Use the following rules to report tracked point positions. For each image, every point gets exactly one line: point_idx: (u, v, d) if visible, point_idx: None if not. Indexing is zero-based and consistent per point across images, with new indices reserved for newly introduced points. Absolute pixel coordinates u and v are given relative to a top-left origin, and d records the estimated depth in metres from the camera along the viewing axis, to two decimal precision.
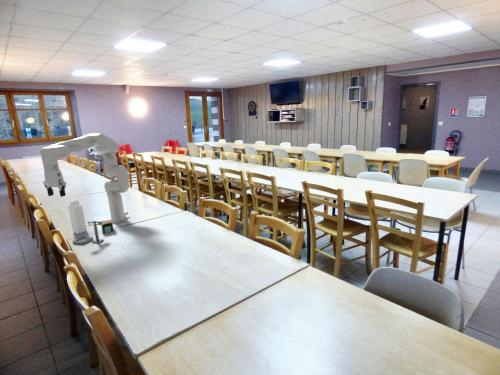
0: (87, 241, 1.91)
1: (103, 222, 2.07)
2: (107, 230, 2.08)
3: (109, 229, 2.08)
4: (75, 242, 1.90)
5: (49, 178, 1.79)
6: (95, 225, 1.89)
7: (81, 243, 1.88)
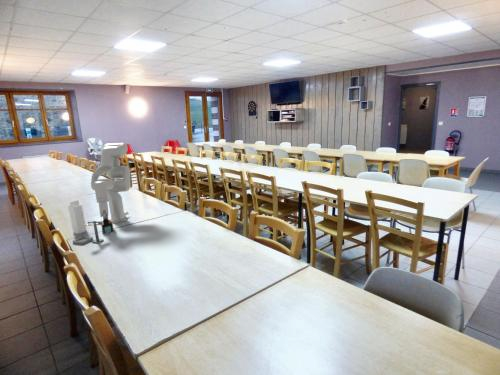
0: (87, 241, 1.91)
1: None
2: (107, 230, 2.08)
3: (109, 229, 2.08)
4: (75, 242, 1.90)
5: (107, 206, 2.06)
6: (95, 225, 1.89)
7: (81, 243, 1.88)
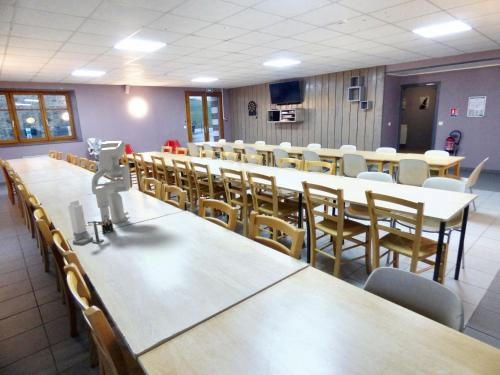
0: (87, 241, 1.91)
1: (103, 222, 2.07)
2: None
3: None
4: (75, 242, 1.90)
5: None
6: (95, 225, 1.89)
7: (81, 243, 1.88)
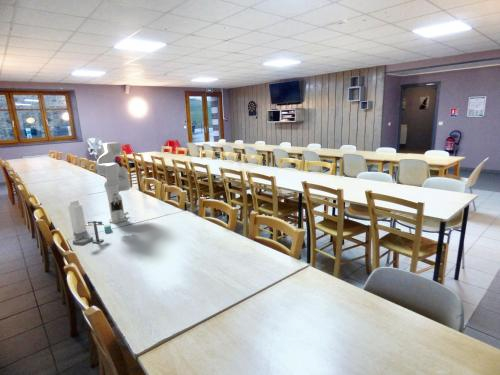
0: (87, 241, 1.91)
1: (112, 201, 2.02)
2: (107, 230, 2.08)
3: (109, 229, 2.08)
4: (75, 242, 1.90)
5: (118, 190, 2.03)
6: (95, 225, 1.89)
7: (81, 243, 1.88)
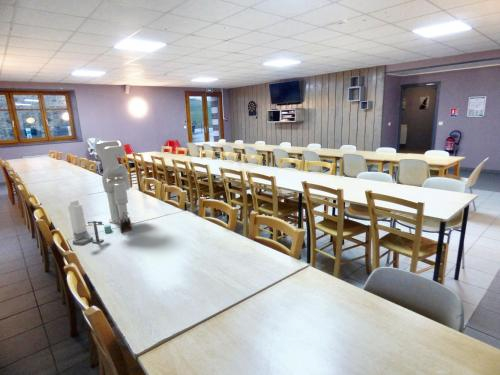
0: (87, 241, 1.91)
1: None
2: (107, 230, 2.08)
3: (109, 229, 2.08)
4: (75, 242, 1.90)
5: None
6: (95, 225, 1.89)
7: (81, 243, 1.88)
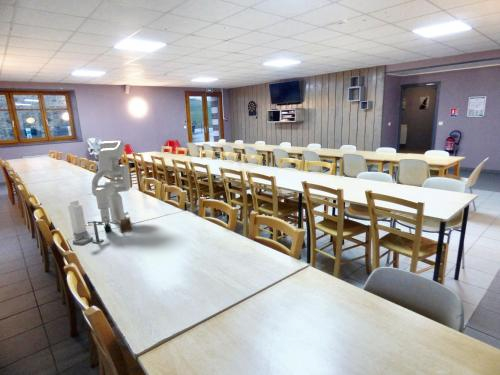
0: (87, 241, 1.91)
1: None
2: None
3: None
4: (75, 242, 1.90)
5: None
6: (95, 225, 1.89)
7: (81, 243, 1.88)
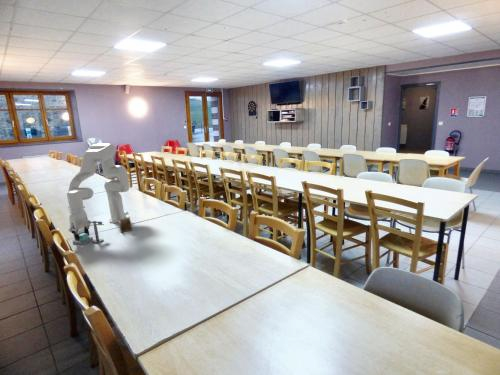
0: (87, 241, 1.91)
1: None
2: (80, 239, 1.91)
3: (82, 239, 1.90)
4: (75, 242, 1.90)
5: (81, 219, 1.88)
6: (95, 225, 1.89)
7: (81, 243, 1.88)
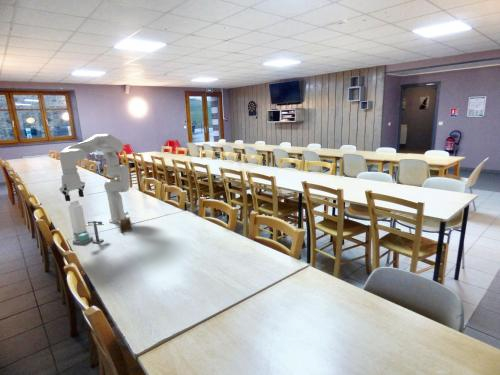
0: (87, 241, 1.91)
1: None
2: (80, 239, 1.91)
3: (82, 239, 1.90)
4: (75, 242, 1.90)
5: (74, 180, 1.83)
6: (95, 225, 1.89)
7: (81, 243, 1.88)
